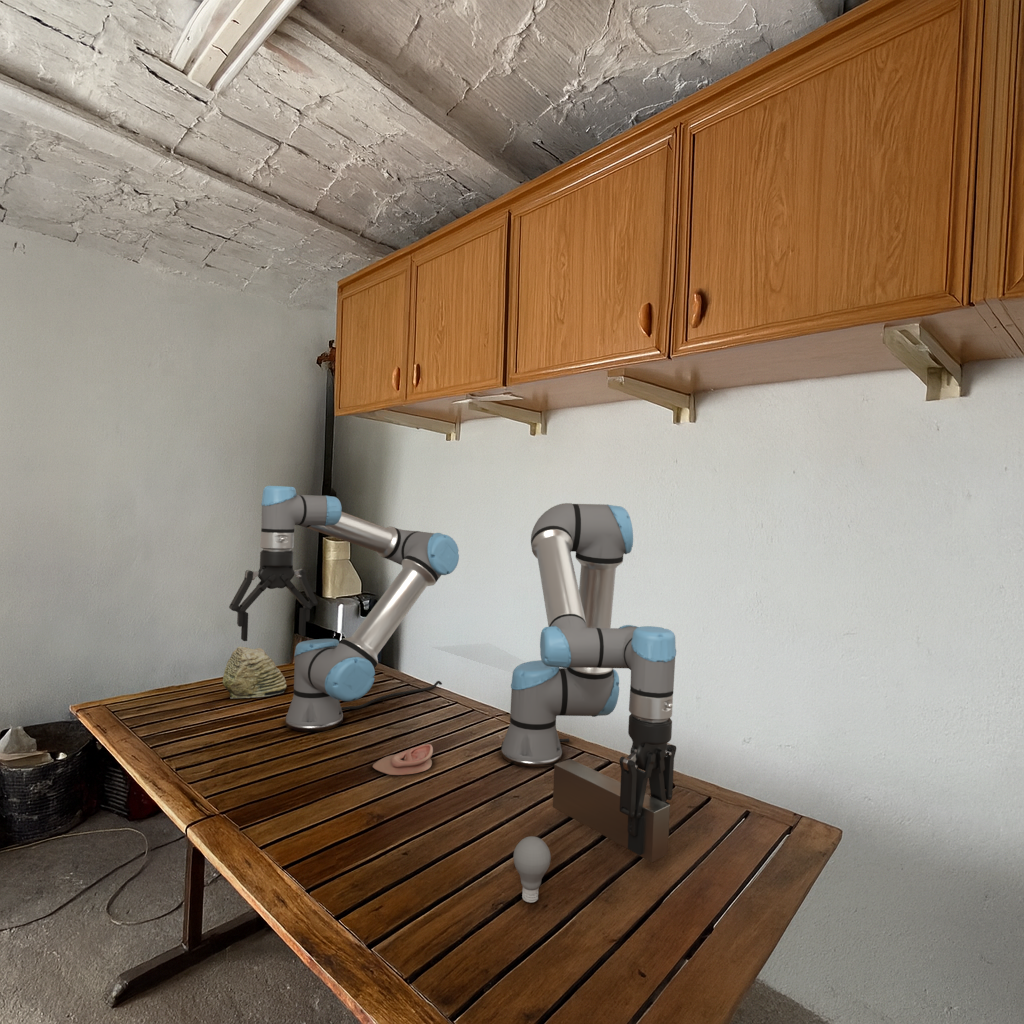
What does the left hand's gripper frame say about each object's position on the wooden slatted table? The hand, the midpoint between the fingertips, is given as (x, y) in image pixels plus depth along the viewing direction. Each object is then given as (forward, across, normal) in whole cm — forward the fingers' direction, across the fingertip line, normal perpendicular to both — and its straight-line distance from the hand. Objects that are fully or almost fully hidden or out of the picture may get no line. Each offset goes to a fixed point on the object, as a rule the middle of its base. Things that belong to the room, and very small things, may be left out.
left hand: (273, 637), depth 153 cm
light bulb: (+29, +19, -78) cm, 86 cm away
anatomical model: (+29, +25, -22) cm, 44 cm away
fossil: (+29, +9, +49) cm, 57 cm away
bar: (+25, +41, -73) cm, 88 cm away
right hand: (+25, +42, -82) cm, 95 cm away
